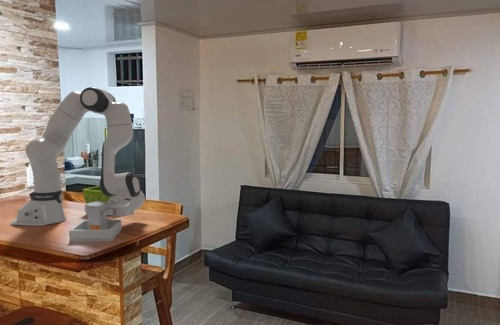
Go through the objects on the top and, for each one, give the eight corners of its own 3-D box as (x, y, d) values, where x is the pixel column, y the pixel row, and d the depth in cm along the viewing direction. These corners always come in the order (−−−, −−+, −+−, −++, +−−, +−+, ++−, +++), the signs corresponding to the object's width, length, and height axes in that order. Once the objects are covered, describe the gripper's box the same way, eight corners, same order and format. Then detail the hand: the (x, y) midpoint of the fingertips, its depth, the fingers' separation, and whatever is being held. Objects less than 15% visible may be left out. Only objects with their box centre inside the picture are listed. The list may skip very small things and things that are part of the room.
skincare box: (89, 233, 163) (85, 205, 160) (97, 229, 167) (93, 202, 164) (101, 234, 161) (97, 206, 158) (108, 230, 165) (105, 203, 162)
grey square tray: (69, 241, 154) (69, 230, 154) (83, 230, 170) (83, 220, 170) (111, 241, 156) (111, 229, 155) (121, 229, 172) (121, 219, 171)
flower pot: (105, 208, 212) (104, 184, 211) (123, 211, 205) (122, 187, 204) (82, 213, 200) (81, 188, 199) (101, 217, 193) (100, 191, 192)
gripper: (98, 196, 177) (74, 203, 164) (136, 200, 170) (115, 207, 157) (98, 210, 178) (75, 217, 165) (136, 214, 171) (115, 222, 158)
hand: (94, 212), depth 161 cm, fingers open, 6 cm apart
